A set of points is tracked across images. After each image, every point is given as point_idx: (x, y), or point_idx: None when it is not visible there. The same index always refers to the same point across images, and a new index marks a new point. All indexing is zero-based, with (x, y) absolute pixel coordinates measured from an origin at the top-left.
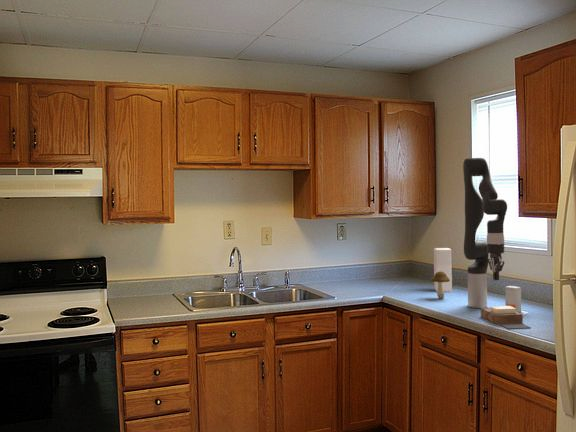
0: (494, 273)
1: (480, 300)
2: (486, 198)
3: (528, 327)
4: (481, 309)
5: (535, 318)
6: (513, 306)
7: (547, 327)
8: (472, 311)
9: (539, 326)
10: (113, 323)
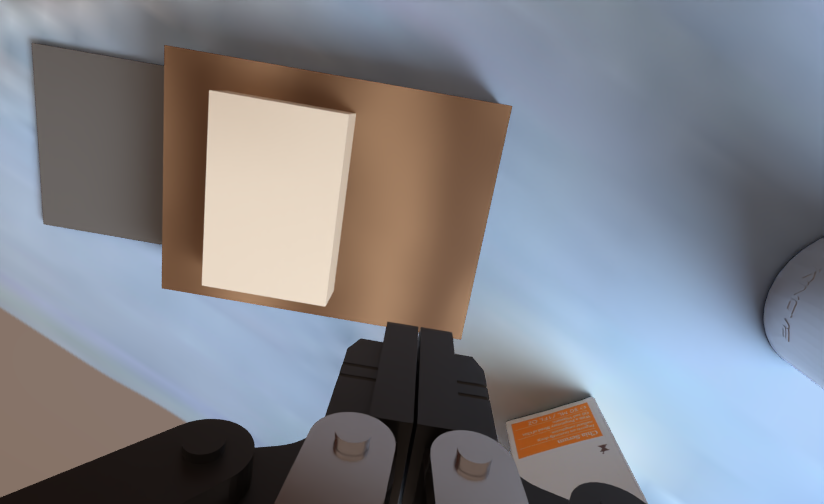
0: (373, 401)
1: (821, 313)
2: None
3: (43, 208)
4: (498, 104)
5: (311, 424)
6: (534, 443)
7: (62, 335)
8: (705, 151)
9: (94, 308)
10: None
